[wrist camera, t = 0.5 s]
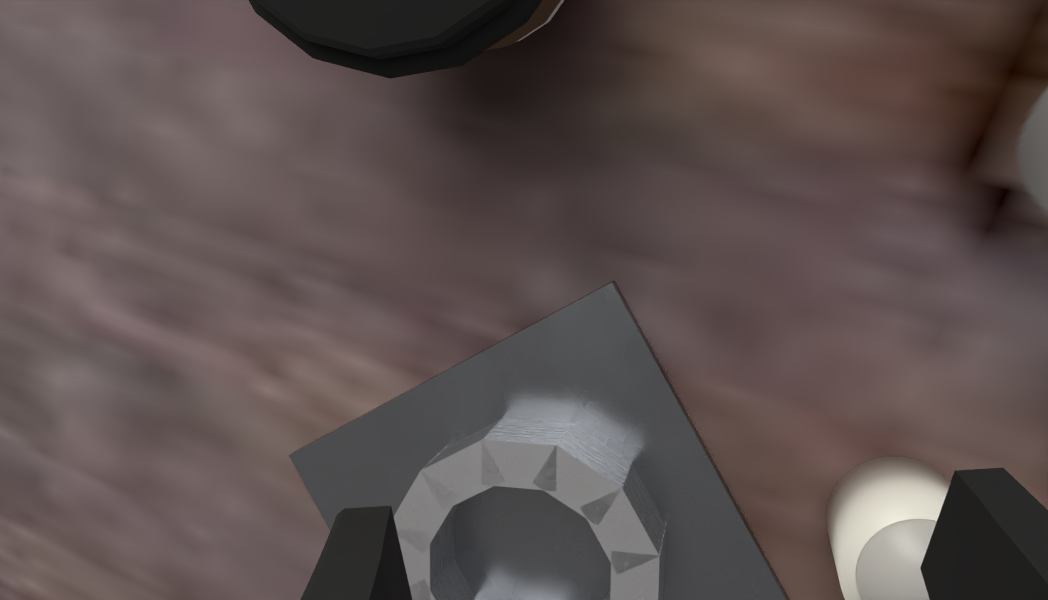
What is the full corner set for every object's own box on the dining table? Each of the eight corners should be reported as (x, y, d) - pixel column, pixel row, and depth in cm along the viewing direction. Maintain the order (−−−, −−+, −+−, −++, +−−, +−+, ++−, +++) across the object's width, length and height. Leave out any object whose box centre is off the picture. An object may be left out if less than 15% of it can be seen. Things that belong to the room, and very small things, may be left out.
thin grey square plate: (810, 637, 35) (817, 688, 32) (471, 768, 40) (446, 826, 36) (614, 280, 35) (600, 292, 32) (295, 451, 39) (252, 478, 36)
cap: (991, 552, 33) (1037, 621, 28) (864, 602, 35) (885, 676, 30) (927, 434, 33) (961, 482, 28) (802, 489, 35) (812, 544, 30)
